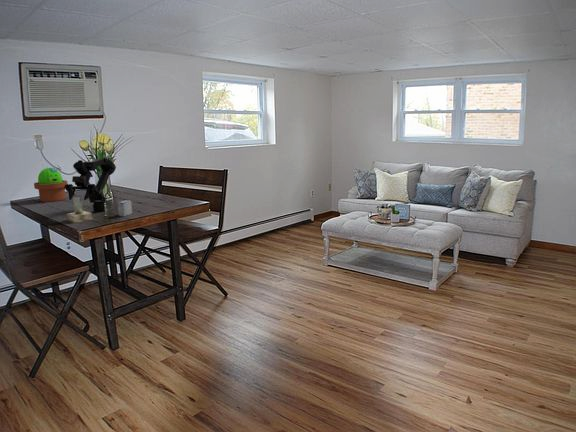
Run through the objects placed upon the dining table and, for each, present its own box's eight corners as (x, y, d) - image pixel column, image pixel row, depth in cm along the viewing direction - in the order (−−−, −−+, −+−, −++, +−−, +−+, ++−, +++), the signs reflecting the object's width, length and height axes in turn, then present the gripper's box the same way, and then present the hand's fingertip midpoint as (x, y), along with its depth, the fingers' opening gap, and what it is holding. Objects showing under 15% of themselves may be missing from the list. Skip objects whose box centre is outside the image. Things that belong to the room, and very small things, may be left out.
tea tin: (77, 212, 266) (75, 196, 264) (84, 212, 266) (82, 196, 263) (73, 214, 261) (71, 197, 259) (80, 214, 261) (78, 197, 259)
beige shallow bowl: (85, 216, 272) (84, 210, 271) (93, 219, 265) (92, 213, 264) (67, 220, 264) (66, 213, 263) (74, 222, 257) (73, 216, 256)
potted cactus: (32, 200, 330) (26, 167, 325) (62, 196, 347) (57, 164, 341) (43, 204, 317) (38, 169, 311) (74, 199, 333) (70, 166, 327)
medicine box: (126, 213, 280) (125, 200, 278) (132, 213, 278) (131, 200, 276) (118, 216, 272) (117, 202, 270) (124, 216, 271) (123, 202, 269)
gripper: (63, 171, 263) (55, 192, 255) (93, 170, 262) (86, 192, 254) (72, 181, 273) (64, 202, 265) (101, 181, 271) (94, 202, 263)
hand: (77, 199), depth 261 cm, fingers open, 9 cm apart
